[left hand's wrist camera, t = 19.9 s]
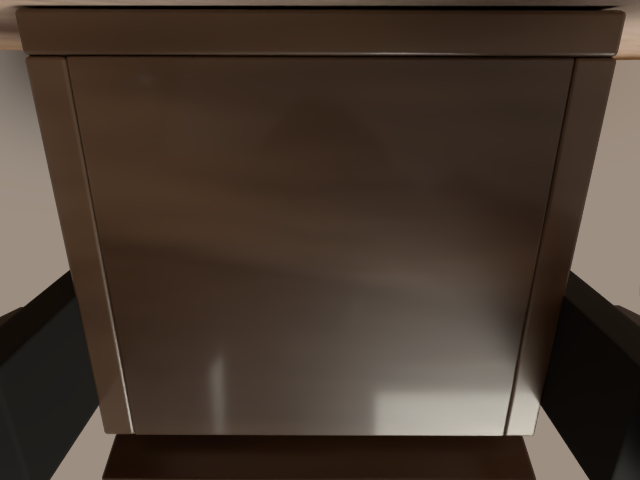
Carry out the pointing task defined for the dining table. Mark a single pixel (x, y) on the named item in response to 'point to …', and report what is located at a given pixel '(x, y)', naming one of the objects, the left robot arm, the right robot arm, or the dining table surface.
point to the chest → (320, 209)
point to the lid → (317, 457)
